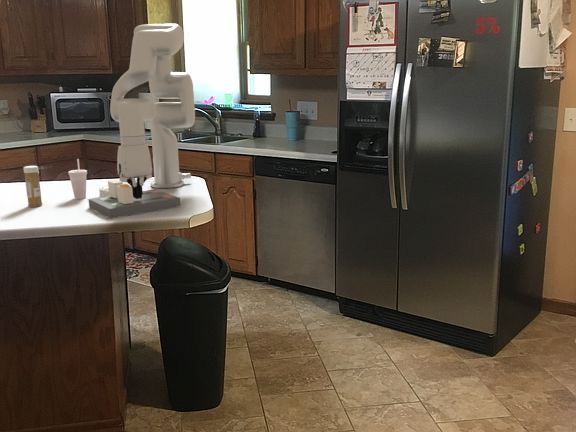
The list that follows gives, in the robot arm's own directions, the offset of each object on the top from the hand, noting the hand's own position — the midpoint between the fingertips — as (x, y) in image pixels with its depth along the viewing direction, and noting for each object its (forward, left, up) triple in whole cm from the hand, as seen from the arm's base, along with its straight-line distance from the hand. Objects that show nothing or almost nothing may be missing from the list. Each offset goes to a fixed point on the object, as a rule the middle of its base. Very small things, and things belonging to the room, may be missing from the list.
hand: (137, 197), depth 199 cm
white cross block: (-4, -27, -5) cm, 28 cm away
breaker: (+3, -10, -1) cm, 10 cm away
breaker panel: (-1, -5, -4) cm, 7 cm away
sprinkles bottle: (+24, -29, -4) cm, 38 cm away
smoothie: (+8, -31, -4) cm, 32 cm away
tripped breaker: (+4, 0, -1) cm, 4 cm away
